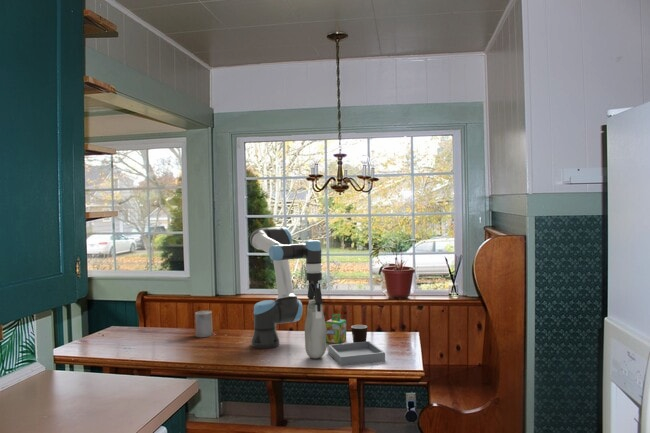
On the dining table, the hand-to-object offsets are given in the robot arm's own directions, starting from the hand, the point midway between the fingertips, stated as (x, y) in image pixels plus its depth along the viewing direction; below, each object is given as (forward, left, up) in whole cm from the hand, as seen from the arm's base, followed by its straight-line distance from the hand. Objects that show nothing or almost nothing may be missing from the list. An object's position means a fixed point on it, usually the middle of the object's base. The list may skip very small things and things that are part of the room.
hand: (315, 315), depth 258 cm
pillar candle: (-65, -51, -21) cm, 85 cm away
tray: (+5, +19, -21) cm, 29 cm away
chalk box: (-26, +18, -21) cm, 38 cm away
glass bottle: (0, 0, -21) cm, 21 cm away
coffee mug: (-15, +28, -21) cm, 38 cm away
